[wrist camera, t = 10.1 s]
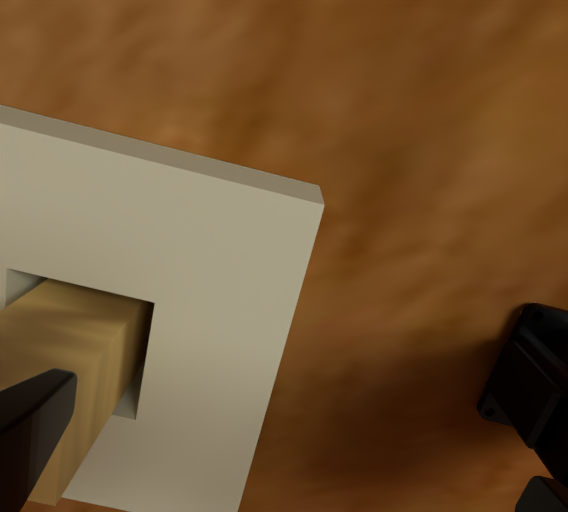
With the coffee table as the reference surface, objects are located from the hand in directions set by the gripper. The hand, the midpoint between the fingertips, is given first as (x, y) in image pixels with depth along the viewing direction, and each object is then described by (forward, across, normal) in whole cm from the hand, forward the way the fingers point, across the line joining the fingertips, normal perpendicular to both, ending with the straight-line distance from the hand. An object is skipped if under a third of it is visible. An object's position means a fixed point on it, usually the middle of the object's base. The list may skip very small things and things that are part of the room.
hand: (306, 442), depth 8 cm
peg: (+12, +8, +5) cm, 15 cm away
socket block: (+12, +8, +5) cm, 15 cm away
